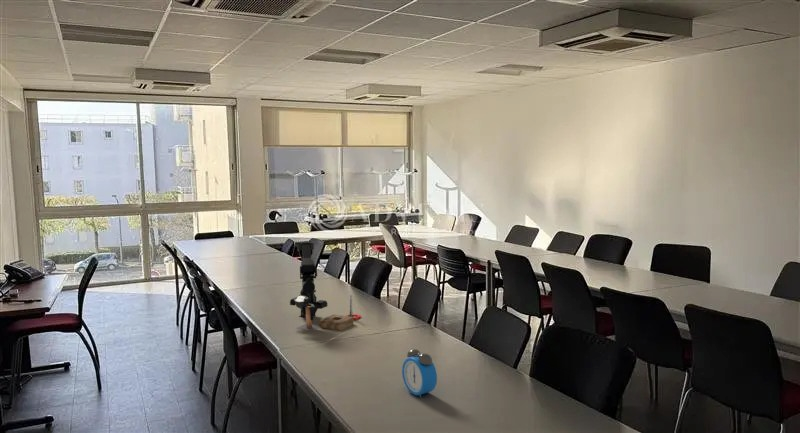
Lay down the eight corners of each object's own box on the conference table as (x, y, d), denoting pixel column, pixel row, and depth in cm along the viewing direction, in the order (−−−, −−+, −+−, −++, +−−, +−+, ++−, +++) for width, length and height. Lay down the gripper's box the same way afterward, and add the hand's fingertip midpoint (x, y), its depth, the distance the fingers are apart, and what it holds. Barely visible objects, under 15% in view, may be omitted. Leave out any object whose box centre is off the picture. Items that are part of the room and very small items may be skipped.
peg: (304, 327, 282) (304, 307, 281) (308, 325, 285) (307, 306, 284) (309, 328, 281) (309, 308, 280) (313, 326, 283) (312, 306, 282)
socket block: (319, 328, 282) (319, 320, 282) (333, 322, 293) (333, 314, 293) (340, 331, 277) (340, 323, 277) (353, 324, 288) (353, 316, 287)
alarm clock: (401, 389, 206) (401, 348, 204) (415, 385, 209) (415, 345, 208) (423, 401, 195) (423, 358, 194) (438, 397, 199) (438, 354, 197)
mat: (295, 328, 281) (295, 328, 281) (305, 324, 289) (305, 324, 289) (312, 331, 277) (312, 330, 277) (322, 327, 284) (322, 326, 284)
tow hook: (347, 316, 306) (342, 320, 297) (347, 292, 305) (342, 295, 296) (362, 316, 305) (358, 320, 296) (362, 292, 304) (358, 295, 295)
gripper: (282, 290, 278) (283, 322, 279) (314, 294, 270) (315, 326, 271) (296, 285, 288) (297, 316, 289) (327, 289, 280) (328, 320, 281)
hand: (308, 320), depth 282 cm, fingers closed on peg, 3 cm apart
